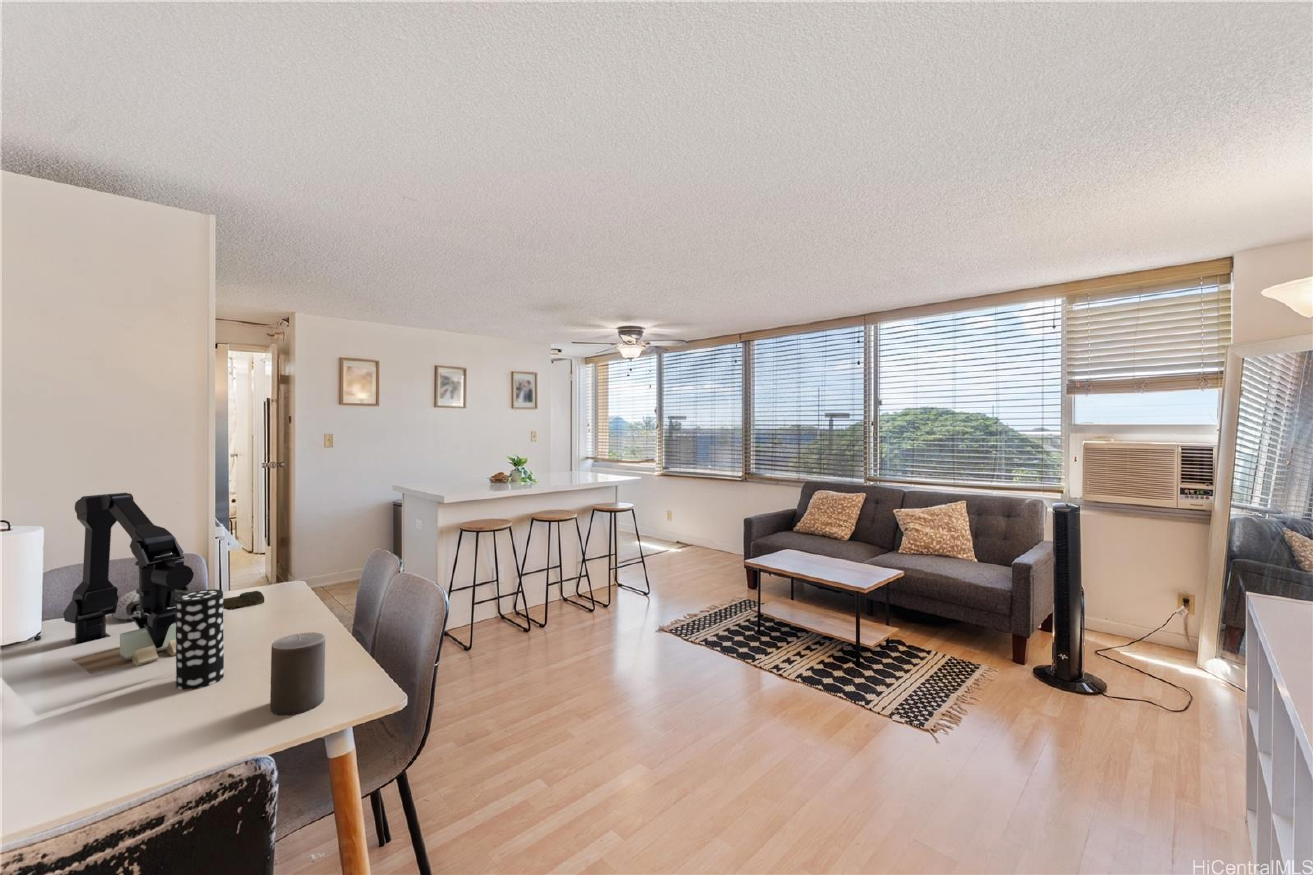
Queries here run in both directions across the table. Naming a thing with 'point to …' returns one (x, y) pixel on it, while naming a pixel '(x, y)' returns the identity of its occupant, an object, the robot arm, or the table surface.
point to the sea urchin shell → (123, 603)
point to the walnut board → (105, 660)
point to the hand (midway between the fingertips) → (155, 645)
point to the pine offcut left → (144, 655)
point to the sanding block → (142, 641)
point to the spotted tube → (199, 639)
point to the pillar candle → (297, 673)
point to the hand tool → (244, 600)
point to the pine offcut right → (171, 647)
